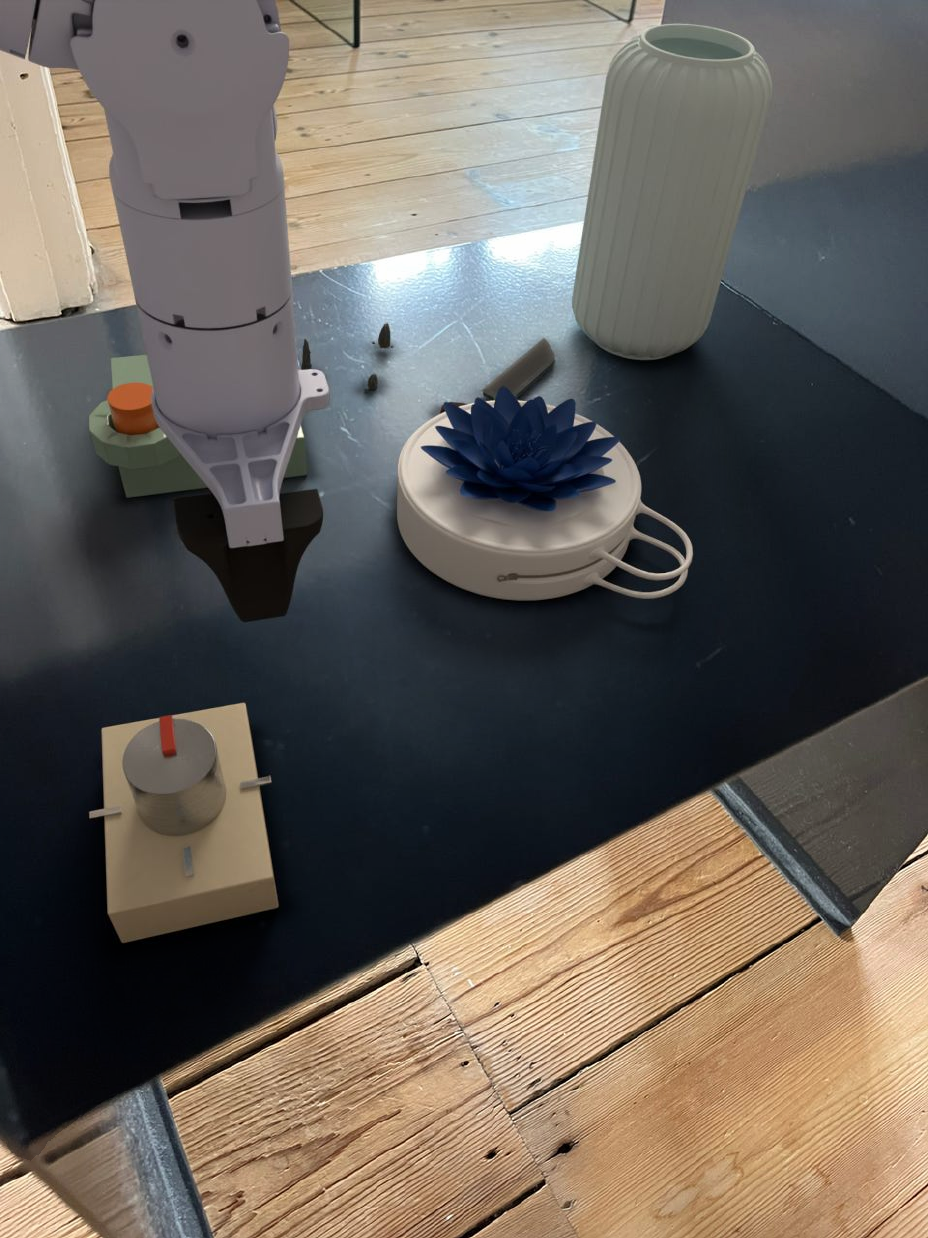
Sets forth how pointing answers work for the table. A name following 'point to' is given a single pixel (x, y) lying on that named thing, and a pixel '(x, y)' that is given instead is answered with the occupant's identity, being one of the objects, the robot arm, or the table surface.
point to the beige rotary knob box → (187, 841)
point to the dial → (175, 776)
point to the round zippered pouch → (523, 501)
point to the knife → (520, 372)
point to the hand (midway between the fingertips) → (252, 556)
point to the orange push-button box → (154, 444)
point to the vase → (667, 186)
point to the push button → (132, 408)
